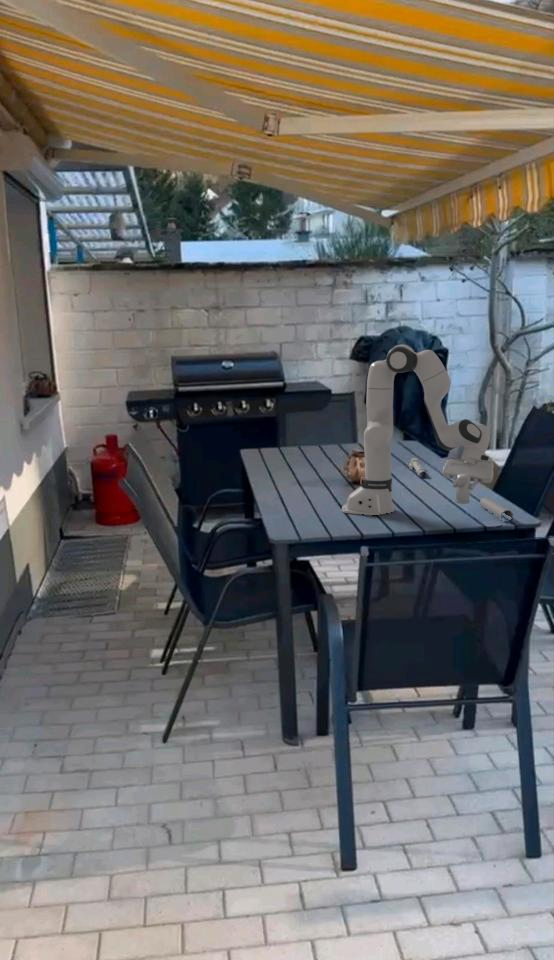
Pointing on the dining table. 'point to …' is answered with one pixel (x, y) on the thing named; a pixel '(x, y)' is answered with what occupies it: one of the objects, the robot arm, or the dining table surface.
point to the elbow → (462, 488)
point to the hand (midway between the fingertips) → (462, 487)
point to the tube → (495, 507)
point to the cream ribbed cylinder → (417, 468)
